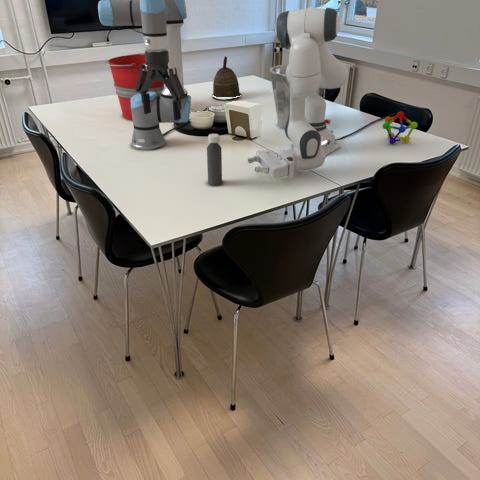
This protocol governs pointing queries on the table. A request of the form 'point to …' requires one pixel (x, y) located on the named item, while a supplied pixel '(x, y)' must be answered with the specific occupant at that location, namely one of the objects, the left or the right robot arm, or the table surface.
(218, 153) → the bottle
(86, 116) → the table surface
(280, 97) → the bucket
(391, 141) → the educational toy
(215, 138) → the cap
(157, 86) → the bucket
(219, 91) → the bell
